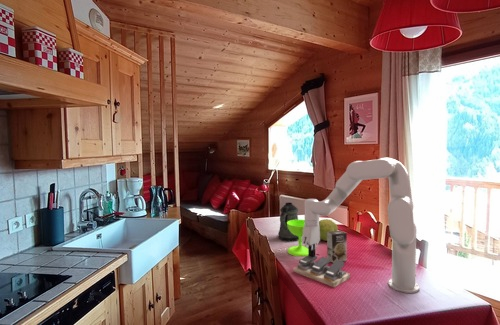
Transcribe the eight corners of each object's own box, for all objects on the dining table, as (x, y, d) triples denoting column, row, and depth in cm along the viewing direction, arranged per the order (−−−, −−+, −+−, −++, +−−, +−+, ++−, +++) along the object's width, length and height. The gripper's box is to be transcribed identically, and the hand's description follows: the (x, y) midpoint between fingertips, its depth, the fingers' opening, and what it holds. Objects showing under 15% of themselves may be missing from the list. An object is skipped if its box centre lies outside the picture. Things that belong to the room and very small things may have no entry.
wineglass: (313, 257, 171) (313, 226, 170) (286, 255, 175) (285, 225, 174) (313, 247, 187) (313, 219, 186) (288, 246, 190) (287, 219, 189)
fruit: (338, 244, 193) (327, 225, 191) (319, 248, 201) (308, 229, 199) (343, 230, 206) (333, 212, 204) (325, 234, 214) (315, 217, 212)
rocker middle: (322, 258, 153) (322, 256, 153) (330, 261, 150) (329, 258, 149) (311, 269, 147) (311, 266, 147) (319, 271, 143) (318, 269, 143)
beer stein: (300, 234, 215) (300, 200, 214) (303, 243, 196) (302, 206, 195) (278, 234, 217) (277, 200, 216) (278, 242, 198) (277, 206, 196)
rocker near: (336, 262, 147) (335, 260, 147) (344, 264, 144) (344, 262, 143) (325, 274, 141) (325, 272, 141) (333, 277, 138) (333, 275, 137)
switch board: (310, 263, 162) (309, 254, 162) (350, 277, 144) (349, 267, 144) (293, 271, 153) (293, 262, 152) (334, 287, 135) (334, 276, 135)
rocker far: (310, 256, 159) (310, 253, 159) (317, 258, 156) (317, 256, 156) (298, 263, 153) (298, 260, 152) (305, 265, 149) (305, 263, 149)
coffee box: (332, 263, 162) (332, 234, 161) (326, 259, 168) (326, 231, 167) (347, 261, 165) (347, 232, 164) (340, 257, 171) (340, 229, 170)
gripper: (314, 218, 163) (314, 250, 164) (297, 223, 153) (297, 258, 155) (326, 221, 158) (326, 254, 159) (308, 226, 148) (308, 262, 149)
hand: (311, 256), depth 157 cm, fingers closed
